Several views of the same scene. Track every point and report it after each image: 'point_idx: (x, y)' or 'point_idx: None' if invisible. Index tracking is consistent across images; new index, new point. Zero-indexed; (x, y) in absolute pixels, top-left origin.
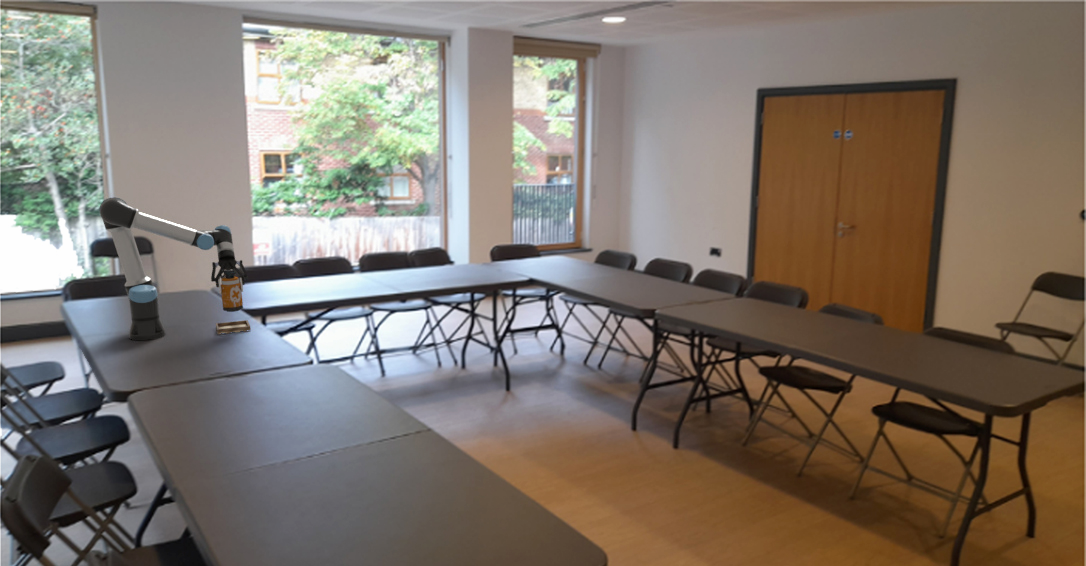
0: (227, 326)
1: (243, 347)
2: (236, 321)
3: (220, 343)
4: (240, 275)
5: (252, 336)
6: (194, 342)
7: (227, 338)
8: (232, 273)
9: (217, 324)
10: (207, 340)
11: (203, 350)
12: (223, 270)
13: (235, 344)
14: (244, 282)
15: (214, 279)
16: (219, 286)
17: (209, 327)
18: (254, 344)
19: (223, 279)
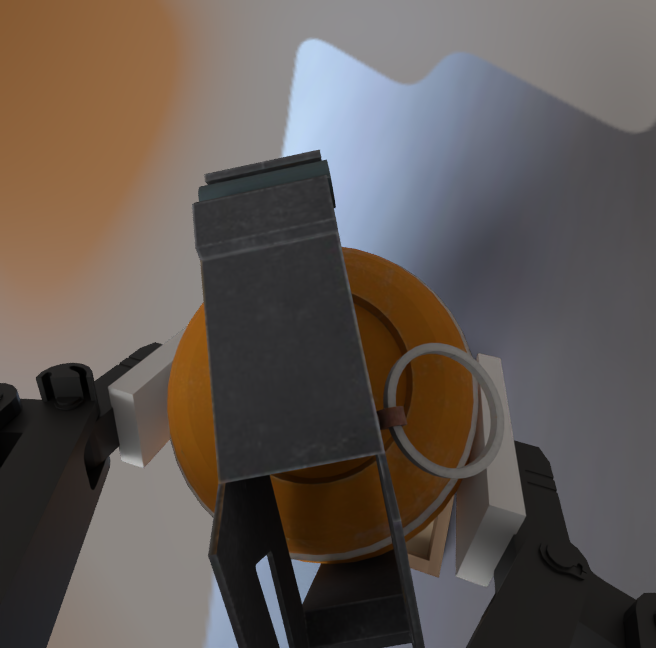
0: None
1: (437, 97)
2: None
3: (504, 207)
4: (75, 429)
5: (340, 237)
6: (619, 301)
7: (449, 273)
8: (295, 164)
9: (437, 530)
10: (548, 298)
11: (600, 141)
12: (402, 544)
13: (451, 155)
14: (142, 348)
15: (602, 585)
16: (501, 397)
17: (465, 622)
18: (385, 114)
19: (457, 336)
